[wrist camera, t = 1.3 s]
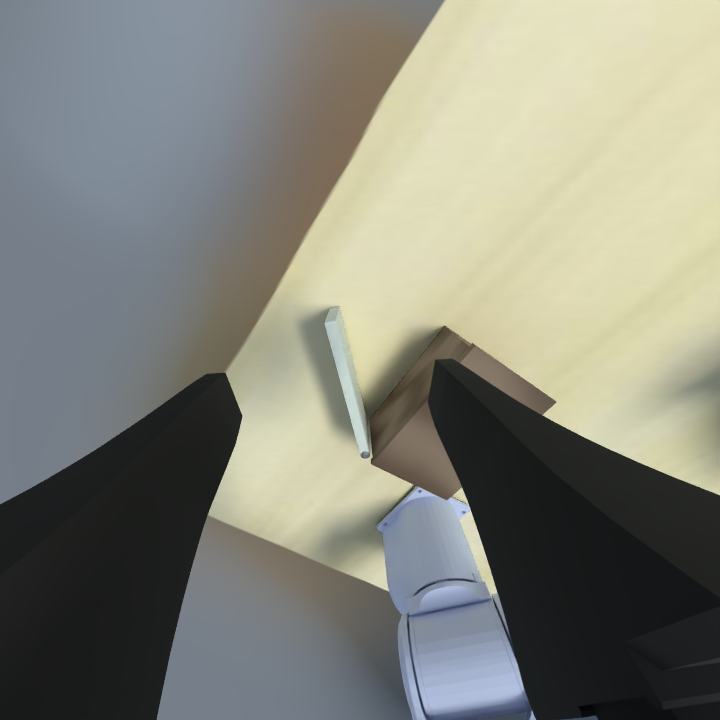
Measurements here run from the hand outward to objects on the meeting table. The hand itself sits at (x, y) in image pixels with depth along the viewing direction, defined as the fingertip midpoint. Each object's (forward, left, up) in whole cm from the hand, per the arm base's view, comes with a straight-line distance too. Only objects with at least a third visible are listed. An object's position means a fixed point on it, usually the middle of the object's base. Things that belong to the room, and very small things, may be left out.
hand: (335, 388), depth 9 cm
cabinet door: (-5, -4, -13) cm, 15 cm away
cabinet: (-3, -12, -14) cm, 19 cm away
